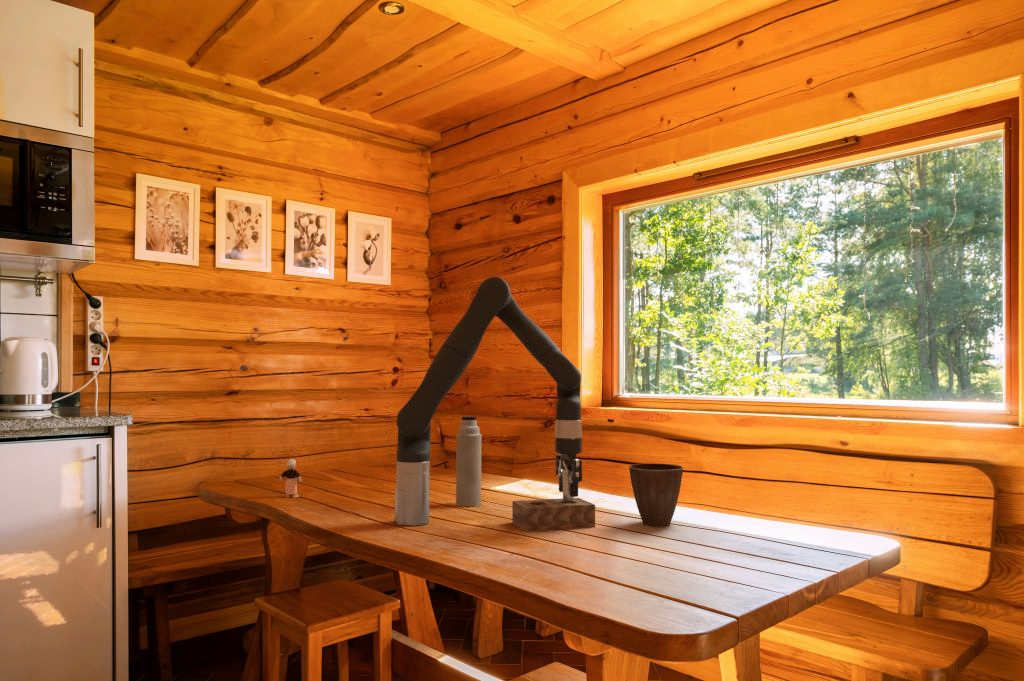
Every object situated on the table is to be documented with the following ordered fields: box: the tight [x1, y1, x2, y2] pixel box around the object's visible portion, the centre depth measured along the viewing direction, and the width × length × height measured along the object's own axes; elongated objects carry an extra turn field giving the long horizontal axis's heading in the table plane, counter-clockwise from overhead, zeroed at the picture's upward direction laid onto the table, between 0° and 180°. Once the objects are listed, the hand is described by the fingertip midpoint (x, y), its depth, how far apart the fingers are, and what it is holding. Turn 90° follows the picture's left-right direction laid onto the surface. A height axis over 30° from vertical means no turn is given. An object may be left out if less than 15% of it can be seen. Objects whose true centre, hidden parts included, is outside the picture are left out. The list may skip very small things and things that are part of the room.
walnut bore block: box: [511, 497, 596, 532], centre depth 209 cm, size 20×12×6 cm, turn 107°
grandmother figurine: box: [278, 458, 303, 499], centre depth 253 cm, size 8×4×13 cm, turn 94°
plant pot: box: [628, 463, 684, 527], centre depth 211 cm, size 15×15×16 cm
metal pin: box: [562, 469, 575, 504], centre depth 210 cm, size 3×3×14 cm
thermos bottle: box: [455, 416, 483, 508], centre depth 240 cm, size 8×8×28 cm
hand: (568, 494), depth 210 cm, fingers open, 8 cm apart
